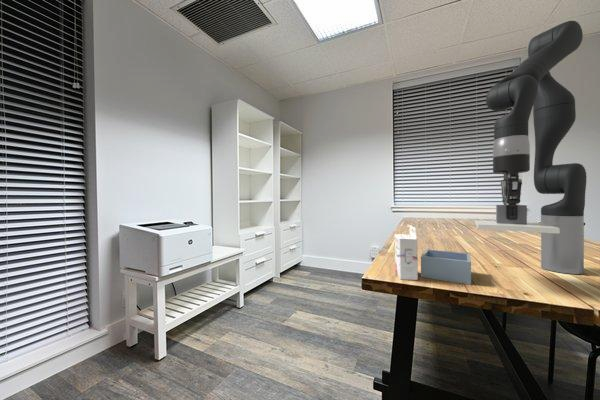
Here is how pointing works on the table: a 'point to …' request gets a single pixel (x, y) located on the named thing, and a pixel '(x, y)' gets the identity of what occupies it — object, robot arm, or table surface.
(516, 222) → the lid
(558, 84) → the robot arm
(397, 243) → the ink cartridge box
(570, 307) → the table surface
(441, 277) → the gray open box
